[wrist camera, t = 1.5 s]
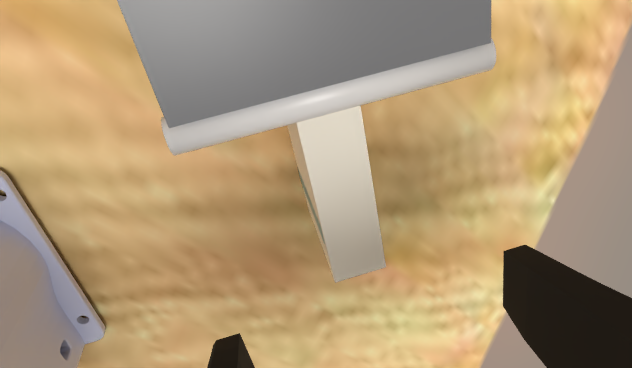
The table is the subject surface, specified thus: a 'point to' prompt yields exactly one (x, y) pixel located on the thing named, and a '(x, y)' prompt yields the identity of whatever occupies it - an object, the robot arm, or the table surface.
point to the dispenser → (296, 58)
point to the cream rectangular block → (340, 190)
